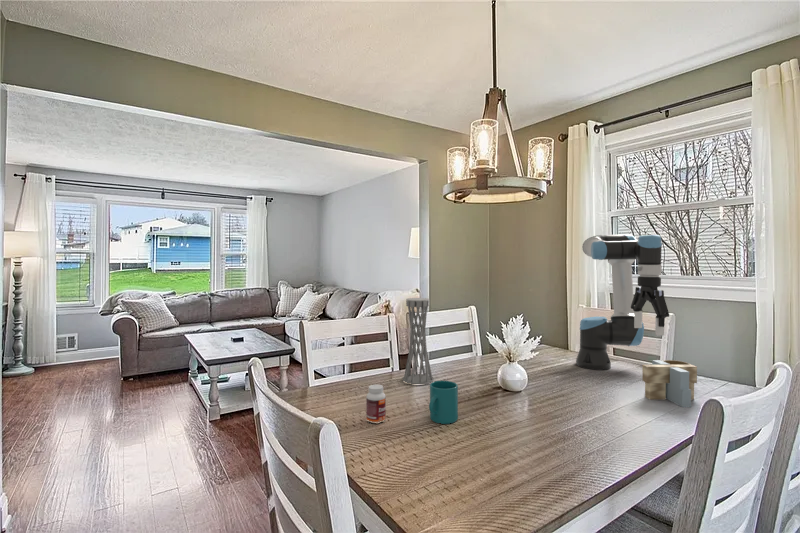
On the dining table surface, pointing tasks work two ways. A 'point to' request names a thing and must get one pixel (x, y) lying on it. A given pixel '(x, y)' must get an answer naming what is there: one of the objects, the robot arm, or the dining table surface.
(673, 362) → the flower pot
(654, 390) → the maple board
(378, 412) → the pill bottle
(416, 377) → the vase
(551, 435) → the dining table surface
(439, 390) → the cup
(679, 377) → the slate board
